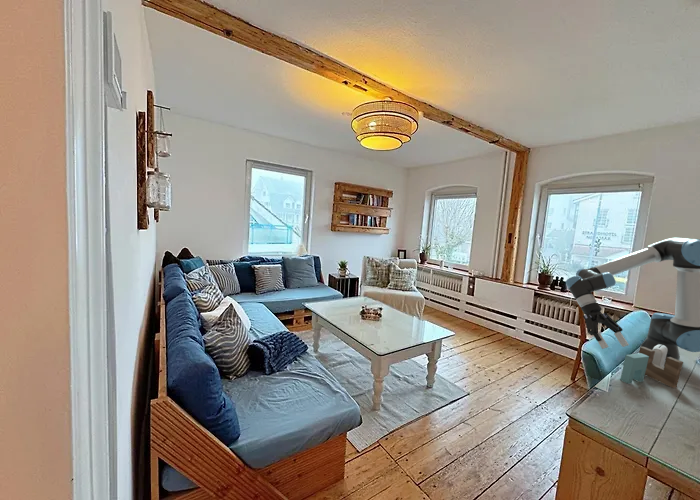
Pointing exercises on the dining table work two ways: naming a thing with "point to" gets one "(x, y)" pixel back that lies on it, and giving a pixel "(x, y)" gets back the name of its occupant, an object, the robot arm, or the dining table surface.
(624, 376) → the teal slotted plate
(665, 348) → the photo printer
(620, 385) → the dining table surface
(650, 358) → the walnut slotted board
